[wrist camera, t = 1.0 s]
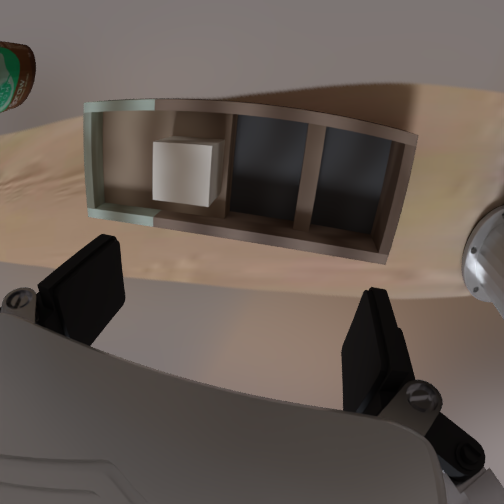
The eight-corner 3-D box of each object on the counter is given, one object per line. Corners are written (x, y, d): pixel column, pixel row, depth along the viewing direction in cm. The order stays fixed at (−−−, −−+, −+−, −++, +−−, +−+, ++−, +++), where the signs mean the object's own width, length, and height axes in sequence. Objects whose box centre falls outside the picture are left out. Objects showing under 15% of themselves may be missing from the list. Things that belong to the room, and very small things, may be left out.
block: (224, 139, 26) (212, 145, 23) (220, 193, 29) (208, 206, 25) (172, 135, 27) (153, 141, 23) (170, 187, 29) (152, 199, 26)
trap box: (402, 130, 25) (418, 135, 21) (376, 243, 31) (385, 264, 27) (108, 100, 28) (83, 102, 24) (110, 202, 34) (88, 216, 30)
